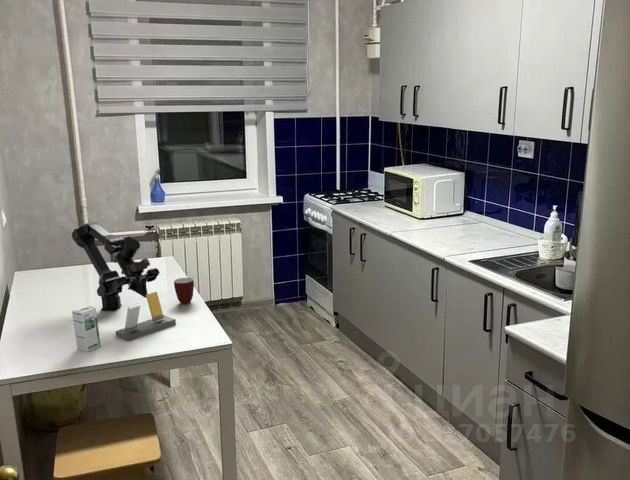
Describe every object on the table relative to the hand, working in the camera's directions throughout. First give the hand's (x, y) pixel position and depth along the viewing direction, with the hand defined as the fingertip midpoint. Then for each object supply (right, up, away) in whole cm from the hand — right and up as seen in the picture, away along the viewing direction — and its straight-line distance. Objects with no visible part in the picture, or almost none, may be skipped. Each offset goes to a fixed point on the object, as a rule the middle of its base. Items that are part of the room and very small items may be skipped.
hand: (146, 296), depth 234 cm
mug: (+10, -5, +22) cm, 25 cm away
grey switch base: (+2, -12, -6) cm, 13 cm away
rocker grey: (-3, -10, -11) cm, 15 cm away
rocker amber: (+5, -8, -2) cm, 10 cm away
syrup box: (-15, -16, -20) cm, 30 cm away
